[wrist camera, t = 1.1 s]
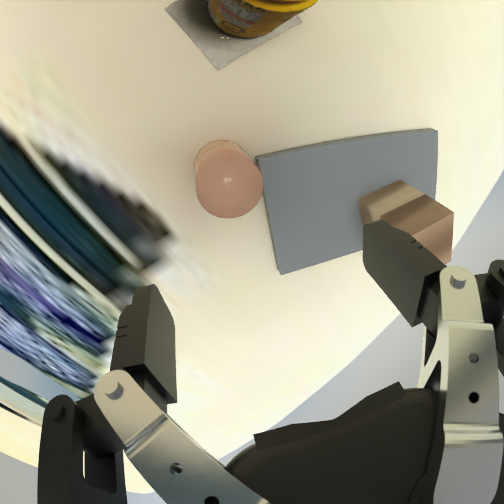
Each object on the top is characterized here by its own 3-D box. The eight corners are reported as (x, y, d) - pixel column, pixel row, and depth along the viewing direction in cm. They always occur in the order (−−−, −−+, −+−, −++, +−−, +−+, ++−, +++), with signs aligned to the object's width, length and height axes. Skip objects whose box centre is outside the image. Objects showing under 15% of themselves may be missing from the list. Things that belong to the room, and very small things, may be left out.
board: (255, 156, 24) (258, 159, 23) (430, 128, 25) (437, 130, 24) (277, 268, 30) (280, 275, 29) (426, 222, 31) (431, 226, 30)
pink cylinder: (188, 148, 22) (188, 165, 17) (240, 134, 22) (256, 147, 17) (202, 195, 25) (206, 225, 20) (251, 182, 25) (268, 208, 20)
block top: (379, 215, 23) (406, 238, 20) (424, 193, 23) (453, 212, 19) (385, 262, 26) (407, 287, 23) (426, 240, 26) (450, 261, 22)
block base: (357, 198, 26) (379, 215, 23) (400, 179, 26) (424, 194, 23) (365, 242, 29) (385, 262, 26) (404, 222, 29) (426, 240, 26)
